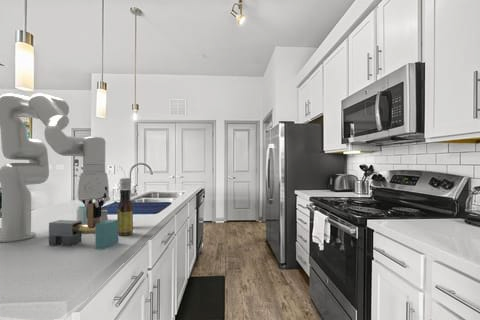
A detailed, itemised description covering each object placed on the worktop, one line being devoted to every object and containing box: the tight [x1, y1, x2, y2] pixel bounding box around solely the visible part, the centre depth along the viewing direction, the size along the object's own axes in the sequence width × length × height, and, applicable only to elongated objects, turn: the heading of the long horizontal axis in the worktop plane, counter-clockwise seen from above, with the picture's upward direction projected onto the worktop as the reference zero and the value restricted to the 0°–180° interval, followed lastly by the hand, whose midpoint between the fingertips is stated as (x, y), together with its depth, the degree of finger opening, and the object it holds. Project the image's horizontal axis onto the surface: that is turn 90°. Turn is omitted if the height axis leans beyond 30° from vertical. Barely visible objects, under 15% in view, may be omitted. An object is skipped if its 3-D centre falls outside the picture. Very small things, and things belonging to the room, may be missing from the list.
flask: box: [100, 209, 109, 222], centre depth 120 cm, size 7×7×10 cm
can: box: [76, 204, 87, 225], centre depth 123 cm, size 7×7×12 cm
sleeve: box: [48, 219, 83, 247], centre depth 103 cm, size 10×6×8 cm, turn 81°
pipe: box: [118, 166, 132, 199], centre depth 129 cm, size 6×6×30 cm
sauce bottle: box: [116, 188, 134, 237], centre depth 116 cm, size 6×6×20 cm
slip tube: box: [73, 201, 100, 235], centre depth 101 cm, size 16×4×12 cm, turn 81°
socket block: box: [94, 219, 119, 250], centre depth 100 cm, size 4×8×9 cm, turn 171°
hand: (93, 216), depth 101 cm, fingers closed on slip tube, 2 cm apart
